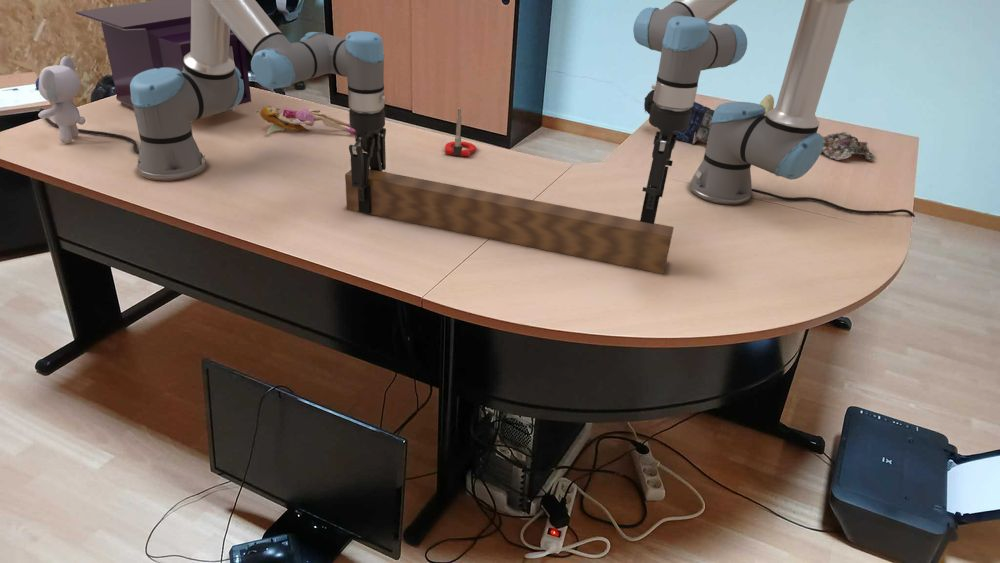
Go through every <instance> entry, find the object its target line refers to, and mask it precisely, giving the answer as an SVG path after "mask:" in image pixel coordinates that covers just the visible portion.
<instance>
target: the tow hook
mask: <svg viewBox="0 0 1000 563" xmlns="http://www.w3.org/2000/svg"><path fill="white" fill-rule="evenodd" d="M461 133H462V108H461V107H458V108H457V116H456V129H455V136H454V141H450V142H447V143H446V144H444V149H445V151H444V153H445V154H446V155H453V156H459V157H461V156H462V157H470V155H471V154H472V153H474V152H476V150H477V147H476V145H475V144H474V143H471V142H467V141H462V136H461ZM463 147H466V149H463Z"/></svg>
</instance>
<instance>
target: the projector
mask: <svg viewBox="0 0 1000 563" xmlns="http://www.w3.org/2000/svg"><path fill="white" fill-rule="evenodd" d="M75 14H76V15H78V16H80V17H83V18H86V19H90V20H93V21H96V22H98V23H100V24H101V29H102V33H103V38H104V43H105V47H106V52H107V56H108V61H109V65H110V71H111V74H112V79H113V80H112V81H113V84H114V88H115V94H116V96H115V99H116V101H118V102H119V103H120V105H121V106H124V107H126V108H128V109H131V110H133V111H134V107H133V103H132V101H131V91H130V83H131V81H132V79H133V78H134V77H135V76H136V75H138V74H139V73H141V72H144V71H147V70H150V69H155V68H156V69H159V68H163V67H169V68H175V69H178V70H179V71H180V72H181V71H183V64H184V56H185V55H186V54H187V53H189V52H191V0H150V1H144V2H143V1H142V2H135V3H128V4H121V5H114V6H106V7H99V8H92V9H85V10H77V11H75ZM229 57H230V58H231V59H232V60H233V62H234V63H235V66H236V68H237V69H238V70H239V72H240V74H241V79H243V83H244V94H243V97H242V100H241V102H240V103H239V104H238V105H237V106H240V105H244V104H247V103H252V94H251V84H250V78H249V69H248V60H247V53H246V47H245V46H244V45H243V44H242V42H241V41H240V40H239V39H238V38H237V36H236V35H235V34H234V33H233V31H232V30H231V29H230V41H229Z"/></svg>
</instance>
